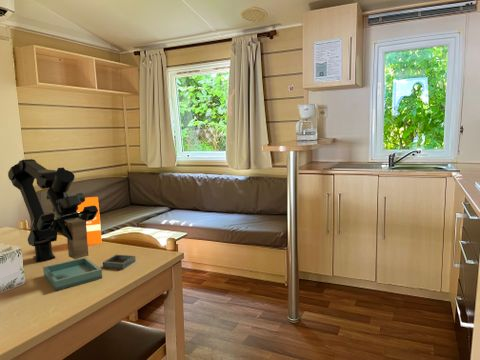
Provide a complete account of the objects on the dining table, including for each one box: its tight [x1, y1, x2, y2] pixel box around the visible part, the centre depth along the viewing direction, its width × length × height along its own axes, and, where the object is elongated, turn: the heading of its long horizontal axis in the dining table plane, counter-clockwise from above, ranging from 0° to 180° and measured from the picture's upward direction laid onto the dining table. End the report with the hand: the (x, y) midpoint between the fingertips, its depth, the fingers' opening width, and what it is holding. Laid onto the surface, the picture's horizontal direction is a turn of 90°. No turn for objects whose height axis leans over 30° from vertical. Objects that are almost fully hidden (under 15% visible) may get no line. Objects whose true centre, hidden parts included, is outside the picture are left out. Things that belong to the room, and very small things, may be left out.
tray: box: [42, 256, 103, 292], centre depth 117 cm, size 16×14×3 cm
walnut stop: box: [65, 219, 89, 260], centre depth 117 cm, size 4×4×12 cm
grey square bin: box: [102, 254, 136, 270], centre depth 127 cm, size 8×8×2 cm
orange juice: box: [76, 196, 103, 246], centre depth 153 cm, size 8×9×20 cm
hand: (78, 237), depth 116 cm, fingers closed on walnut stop, 4 cm apart
